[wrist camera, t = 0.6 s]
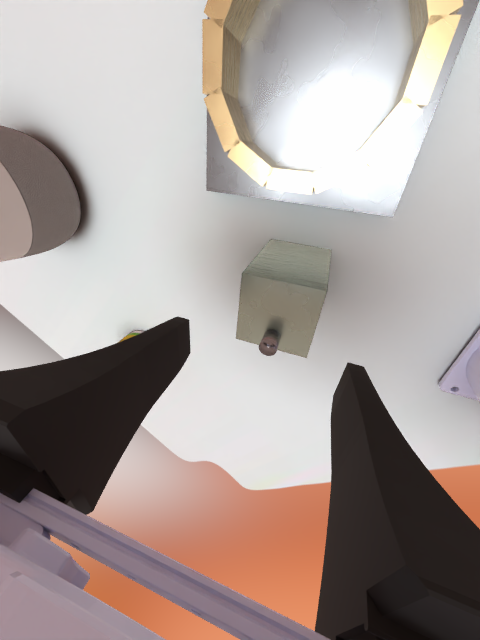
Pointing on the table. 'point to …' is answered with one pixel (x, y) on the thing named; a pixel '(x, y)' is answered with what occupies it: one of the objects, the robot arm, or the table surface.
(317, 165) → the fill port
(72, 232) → the smart speaker
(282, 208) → the table surface
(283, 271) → the spout can
